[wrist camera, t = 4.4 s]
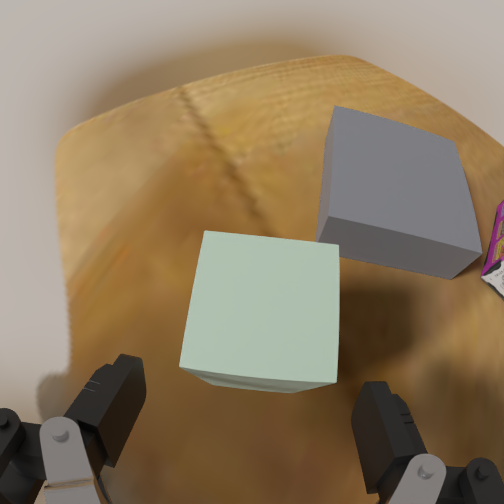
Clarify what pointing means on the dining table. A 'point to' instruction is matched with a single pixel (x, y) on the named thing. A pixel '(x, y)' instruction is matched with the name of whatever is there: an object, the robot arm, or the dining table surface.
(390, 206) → the base block
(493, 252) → the candy bar box
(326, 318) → the sage block
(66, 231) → the dining table surface
